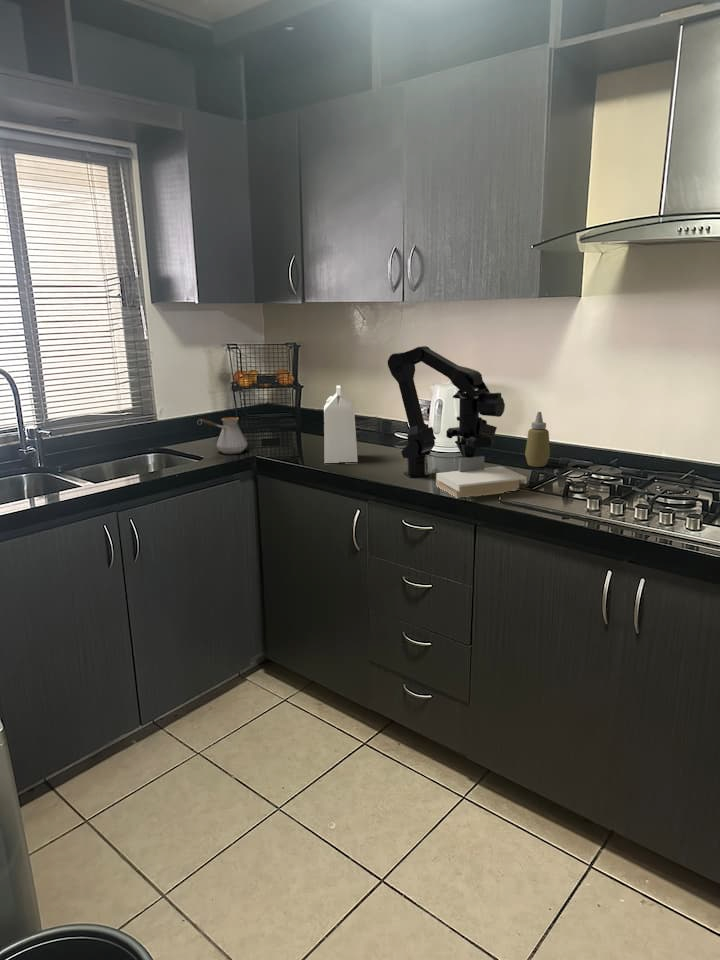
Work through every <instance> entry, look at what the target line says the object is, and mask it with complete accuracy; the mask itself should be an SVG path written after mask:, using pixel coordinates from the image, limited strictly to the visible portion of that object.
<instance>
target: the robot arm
mask: <svg viewBox="0 0 720 960" xmlns="http://www.w3.org/2000/svg"><path fill="white" fill-rule="evenodd" d="M421 362H422V363H423V364H425V365H427V366H429V367H430V368H431V369H434V370H435V371H437V372H438V373H440V374H442V375H444V376H445V377H447V378H448V379H449V380H450V382H451V383H452V385H454V386H455V387H456V388H457V389H458V390H457V392H456V393H455V394H454V395H452V398H453V399H459V405H458V406H459V407H458V408H459V409H458V410H459V416H456V421H458V424H459V425H458V426H456V427H455V426H454V427H449V428H448V429H447V430H446V435H445V436H446V438H448V439H452V438H453V437H457V438H456V440H455V441H454V443H455V444H456V446H457V449H458V451H459V453H460V455H461V458H467V457H475V453H476V451H477V450H478V448H479V449H480V448H487V447H489V448H490V447H493V443H494V442H493V438H494V437H495V434H496V431H497V429H498V427H497V426H494V425H491V424H488V422H487V420H486V419H483V418H482V417H480V416H486V417H496V418H500V417H502V416H503V415H504V412H505V408H506V403H505V401H504V398H503V397H502V393H501V392H490V389H489V388H488V387H487V385H486V383H485V382H484V380H483V377H482V376H483V374H482V373H481V372H480V371H478V370H476V369H473V368H470V367H465V366H462V365H458V364H456V363H455V362H453V361H451V360H449V359H448V358H446V357H444V356H443V355H442V354H439V353H437V352H436V351H434V350H432V349H431V348H430V347H429V346H426V345H424V346H416V347H415V348H413V349H411V350H407V351H404V352H398V353H397V352H396V353H392V354H391V355H390V356H389V357H388V359H387V367H388V370H389V372H390V374H391V376H392V378H394V380H395V381H396V382H397V383H398V387H399V391H400V395H401V400H402V403H403V407H404V411H405V415H406V419H407V423H408V427H409V428H408V432H407V445H406V446H405V447H404V448H403V449H402V450H401V455H402V458H403V459H407V471H403V475H405V474H406V476H407V477H409V478H412V479H413V478H421V477H422V478H423V477H430V474H429V473H428V472H426V456H430V455H431V452H432V450H433V448H434V447H435V445H436V441H435V440H436V439H437V438H436V437H435V432H434V428H433V426H430V427H428V425H427V424H426V423H425V419H424V415H423V412H422V408H421V405H420V404H421V403H420V400H419V395H418V392H417V388H416V385H415V384H416V383H415V380H414V378H415V372H416V364H419V363H421ZM479 415H480V416H479Z"/></svg>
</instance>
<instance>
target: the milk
mask: <svg viewBox="0 0 720 960" xmlns="http://www.w3.org/2000/svg"><path fill="white" fill-rule="evenodd" d="M335 388H336V390H335V391H336V392H335V394H333V396H332V395H330V396H329V397H328V398H327V399H326V401H325V405H323V423H324V424H323V433H324V434H323V435H324V438H323V439H324V441H323V442H324V445H323V447H324V452H323V453H324V454H323V455H324V459H323V460H324V461H323V462H324V464H325V463H339V462H358V449H357V448H358V447H357V433H356V431H357V430H356V417H355V415H356V414H355V407H354V405H353V403H351V402H350V400H348V398H346V397H345V396H344V395H343V394H342V392H341V385H336V386H335ZM358 463H359V462H358Z"/></svg>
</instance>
